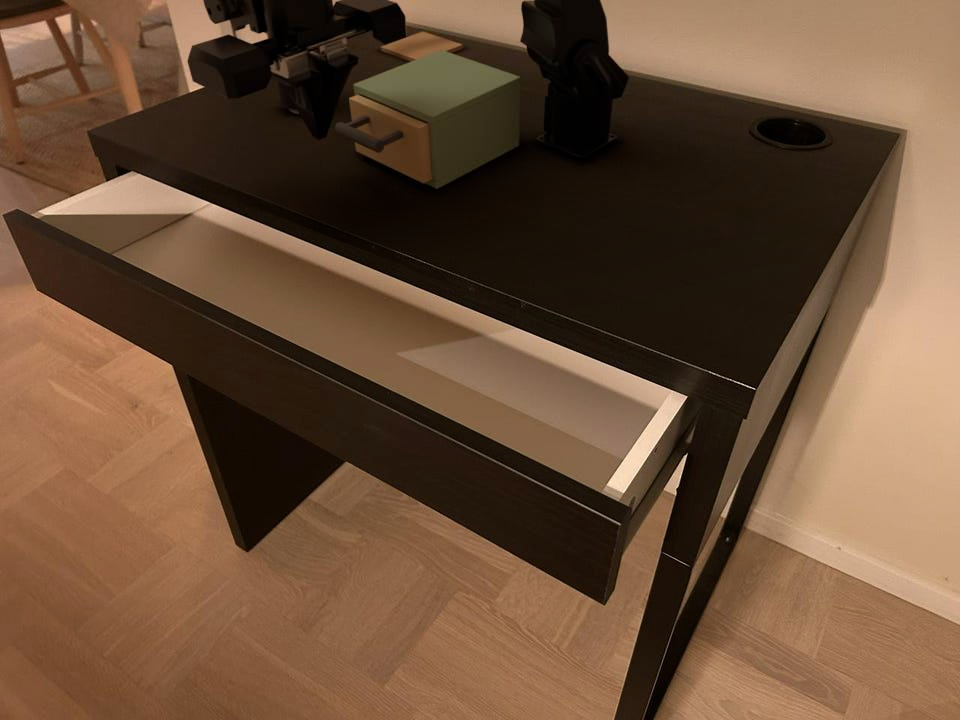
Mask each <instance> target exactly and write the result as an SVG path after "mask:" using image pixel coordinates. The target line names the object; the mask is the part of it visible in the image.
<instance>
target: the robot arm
mask: <svg viewBox="0 0 960 720" xmlns="http://www.w3.org/2000/svg"><path fill="white" fill-rule="evenodd" d="M202 1H203V5H204V8H205V10H206V13H207V16H208V18H209V20H210V21H211V22H212V23H213V24H215V25H218V24H221V23H224V22H228V21H229V22H230V25H231V27H232V30H233V32H237V31H240V30H243V29H246V27H247V26H249V30H250V32H253V33H256V34H258V35H260V34H262V33H264V34H266V37H267V38H265V39H261V40H259V41H256V42H253V43H251V42H248V41H245V40H244V39H241V38H238V37H236V36H234V35H231V34H225V35H222V36H219V37H216V38H212V39H209V40H205V41H203V42H200V43H199V42H198V43H196V44H194V45H193V44H192V45H191V48H190V50H189V53H188V57H187V60H186V61H187V66H188V69H189V72H190V77H191V80H192V82H193V83H195V84H197V85H198V86H200V87H201V86H202V87H203V88H205V89H207V90H209V91H211V92H214V93H216V94H217V95H219V96H222V97H223V98H226V99H228V100H229V99H241V98H243V97H246V96H249V95H251V94H255V93H257V92H259V91H263V90H265V89H267V87H268V85H269V83H270V81H271V80H273V81H275V82H277V81H278V82H279V83H280V85H281V86H282V87H283V89H284V90H285V91H286V93H287V94H288V95H289V97H290V98H291V100H292V102H293V103H294V105H295V107H296V109H297V110H298V112H299V114H298V115H299V116H300V117H301V119H302V121H303V123H304V125H305V126H306V128H307V130H308V131H309V133H310V135H311V136H312V137H313V139H316V140H318V141H321V140H323V139H326V138H327V137H328V134H329V131H330V128H331V124H332V121H333V118H334V116H335V112H336V109H337V107H338V104H339V102H340V98H341V96H342V94H343V91H344V89H345V86H346V84H347V81H348V79H349V77H350V75H351V72H352V70H353V68H354V67H356V66H358V65H359V64H360V56H358V55H355V54H353V53H350V51H349V45H348V40H349V39H351V38H355V37H358V36H360V35H364V34H366V33H369V32H372V37H373V38H374V39H375V40H376V41H377V42H378V43H379V44H381V45H382V46H384V45H387V44H390V43H393V42H395V41H398V40H401V39H404V38H406V37H408V31H407V18H406V14H405V13H404V11H403V9H402V8H401V6H400V5H399V3H398V2H395V1H393V0H336V1H335V2H333V0H202ZM520 11H521V16H522V23H523V24H522V33H521V37H520V40H519V42H520V43H521V44H523V45H524V46H526V53H527V54H528V56H529V58H530V59H531V60H532V61H533V62H534V63H535V64H536V65H537V66H538V67H539V71H540V73H541V77H542V78H544V79H547V80H548V81H550V82H548V84H547V94H545V96H544V110H543V111H544V112H543V132H544V133H543V134H541V135H539V136H537V137H536V143H537V144H538V145H541V146H543V147H546V148H548V149H550V150H553V151H556V152H558V153H561V154H564V155H566V156H568V157H571V158H574V159H576V160H579V161H585V160H587V159H588V158H590V157H592V156H594V155H595V154H597V153H599V152H600V151H602V150H603V149H605V148H607V147H609V146H611V145H612V144H614V143H616V142H617V140H618V136H617V135H616V134H613V133H610V131H611V121H612V111H613V102H614V100H615V99H620V98H622V97H623V95H624V93H625V89H626V88H627V85H628V82H629V79H630V77H629V75H628V74H627V73H626V72H625V70H624V69H623V68H622V67H621V66H620V65H619V64H618V63H617V62H616V61H615V60H614V59H613V57H612V56H611V55H610V42H609V41H610V40H609V30H608V20H607V19H608V17H607V14H606V12H605V10H604V7H603V4H602V1H601V0H523V1H521V6H520ZM286 46H287V47H286Z"/></svg>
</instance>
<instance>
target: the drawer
mask: <svg viewBox="0 0 960 720" xmlns="http://www.w3.org/2000/svg"><path fill="white" fill-rule="evenodd" d="M348 101H349V109H350V116H351V117H350V118H351V120H350V121H349V122H347V123H344V122H342V121H339V122H336V124H335V126H334V132H335V133H336V134H337V135H339V136H341V137H342V138H345V139H347V140H349V141H351V142H354V145H355V151H356V152H357V153H359V154H361V155H363V156H365V157H367V158H369V159H371V160H374V161H375V162H378V163H380V164H382V165H384V166H386V167H389V168H390V169H393V170H394V171H396V172H399V173H400V174H402V175H404V176H407V177H409V178H410V179H413V180H415V181H417V182H419V183H421V184H425V183H426V182H428V181H430V180H431V179H432V172H431V157H430V141H429V126H428V122H426V121H423V120H421V119H419V118H416V117H414V116H411V115H409V114H407V113H404V112H402V111H400V110H397V109H395V108H392V107H390V106H388V105H385V104H383V103H380V102H378V101H376V100H373V101H372V100H369V99H367V98H365V97H362V96H360V95H356V96H355V95H353V96H350V97H349V98H348Z"/></svg>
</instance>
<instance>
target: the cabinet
mask: <svg viewBox="0 0 960 720" xmlns="http://www.w3.org/2000/svg"><path fill="white" fill-rule="evenodd" d="M521 79H522V78H521V76H519V75H516V74H514V73H510V72H507V71H505V70H501V69H498V68H495V67H493V66H490V65H487V64H483V63H481V62H479V61H475V60H472V59H469V58H466V57H464V56H461V55H458V54H455V53H449V52H446V51H443V50H440V51H437V52H435V53H432V54H429V55H427V56H424V57H422V58H419V59H417V60H414V61H412V62H410V61H408V62H406V63H404V64H402V65H399V66H396V67H393V68H391V69H389V70H386V71H384V72H381V73H378V74H376V75H373V76H371V77H369V78H366V79H363V80H360V81H358V82H355V83H353V84H352V85H353V96H356V95H360V96H362V97H365V98H367V99H369V100H372V101H373V100H376V101H378V102H380V103H383V104H385V105H388V106H390V107H392V108H395V109H397V110H400V111H402V112H404V113H407V114H409V115H411V116H414V117H416V118H419V119H421V120H423V121H426V122H428V126H429V141H430V157H431V172H432V179H431V180H430V181H428V182H426V183H424V184H425V185H427V186H429V187H432V188H433V189H436V190H438V189H440V188H442V187H444V186H445V185H448V184H449V183H451V182H453V181H455V180H458V179H459V178H461V177H463V176H465V175H466V174H468V173H471V172H472V171H474V170H476V169H478V168H480V167H481V166H483V165H486V164H487V163H489V162H491V161H493V160H494V159H497V158H499V157H501V156H502V155H504V154H506V153H508V152H510V151H512V150H514V149H516V148H518V147H519V146H520V125H521V123H520V122H521V121H520V120H521Z"/></svg>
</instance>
